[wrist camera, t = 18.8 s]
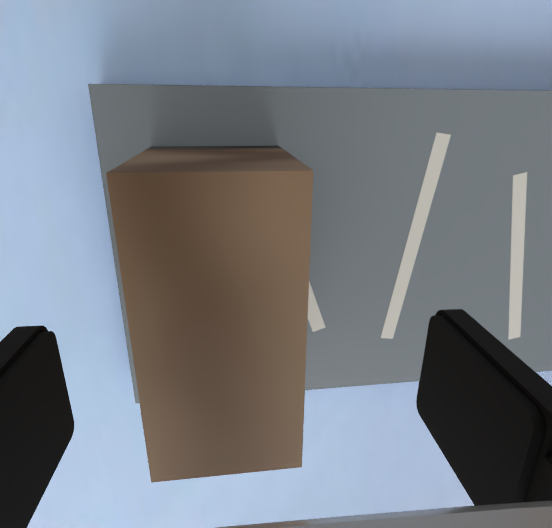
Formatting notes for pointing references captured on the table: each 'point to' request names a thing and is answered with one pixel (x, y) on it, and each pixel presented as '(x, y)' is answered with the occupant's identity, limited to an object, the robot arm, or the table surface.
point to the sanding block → (216, 303)
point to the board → (382, 208)
